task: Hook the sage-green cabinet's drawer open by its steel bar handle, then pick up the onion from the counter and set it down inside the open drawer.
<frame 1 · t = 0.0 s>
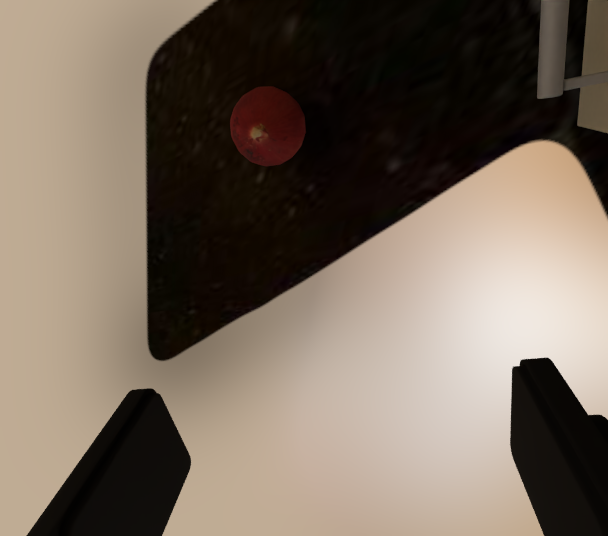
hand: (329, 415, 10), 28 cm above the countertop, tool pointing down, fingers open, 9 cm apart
onion: (277, 121, 34), on the countertop
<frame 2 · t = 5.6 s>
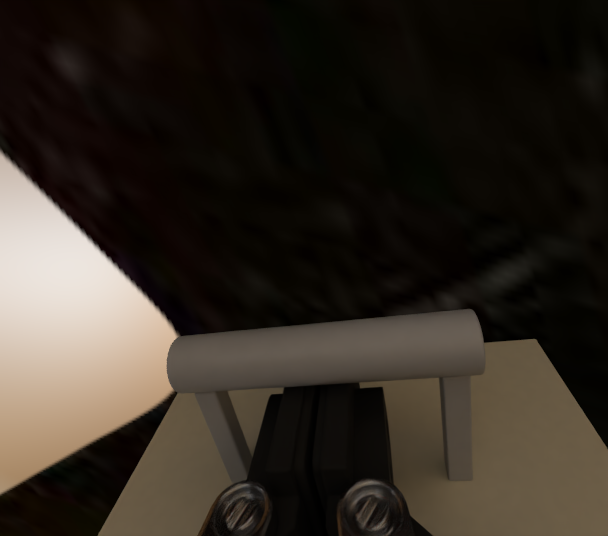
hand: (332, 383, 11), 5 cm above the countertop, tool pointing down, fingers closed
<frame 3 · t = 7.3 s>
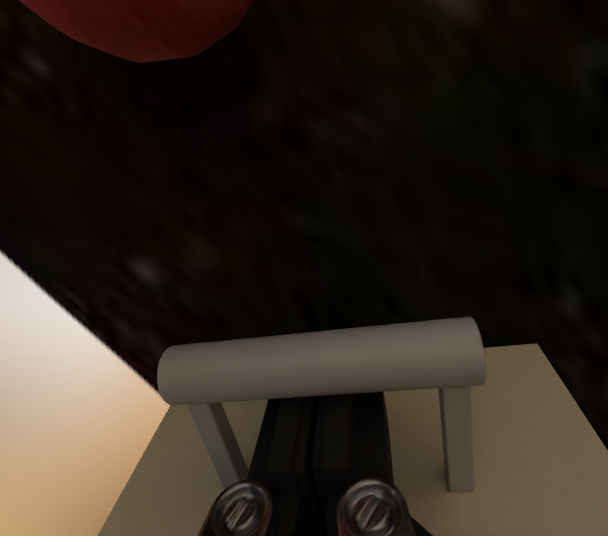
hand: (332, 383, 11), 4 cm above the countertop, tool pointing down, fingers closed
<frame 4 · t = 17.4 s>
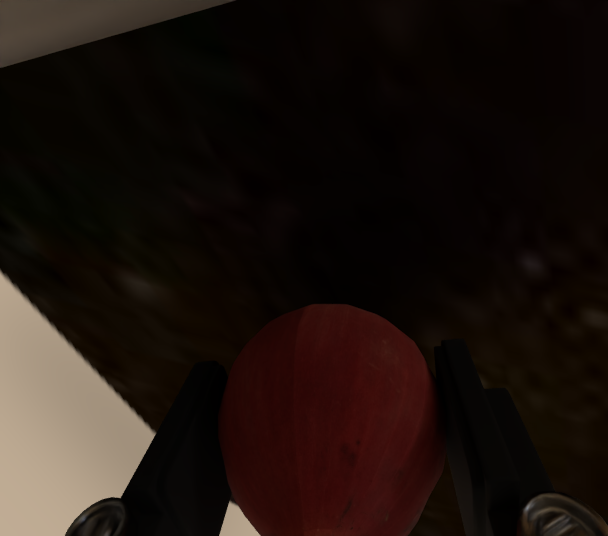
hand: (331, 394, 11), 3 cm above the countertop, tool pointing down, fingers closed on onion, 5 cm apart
onion: (337, 329, 14), on the countertop, touching gripper
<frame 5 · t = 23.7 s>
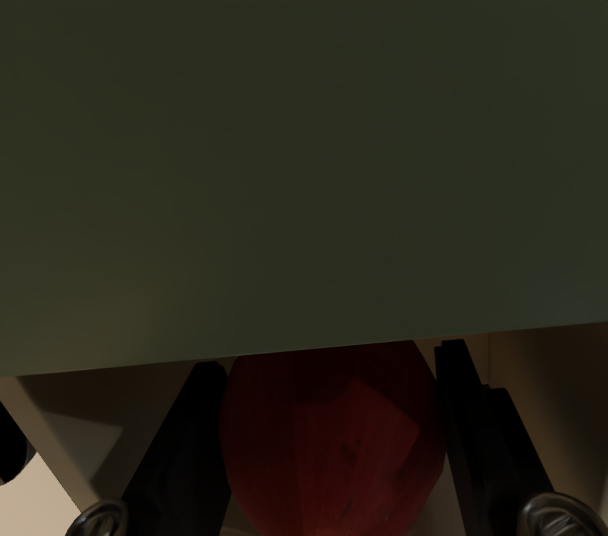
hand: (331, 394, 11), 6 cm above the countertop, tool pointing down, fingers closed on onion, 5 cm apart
drawer: (340, 411, 12), point 5 cm above the countertop, slide at 10.1 cm, touching gripper
onion: (337, 328, 14), point 3 cm above the countertop, touching gripper
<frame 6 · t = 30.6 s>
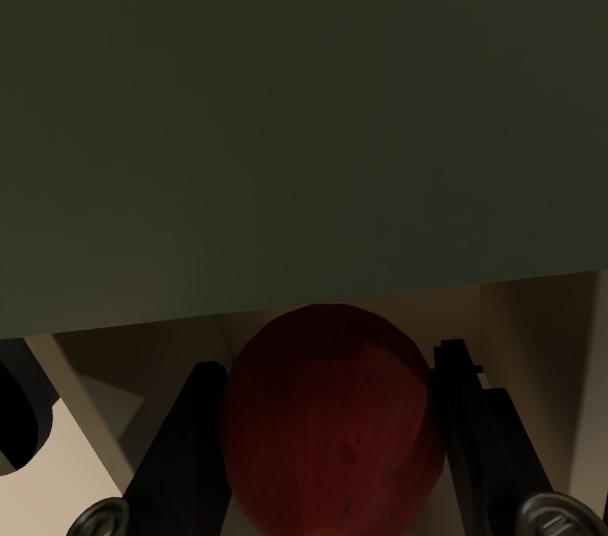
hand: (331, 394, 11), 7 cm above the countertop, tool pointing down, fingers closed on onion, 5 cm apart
drawer: (342, 386, 13), point 5 cm above the countertop, slide at 10.1 cm
onion: (337, 328, 14), point 4 cm above the countertop, touching gripper
when the fingers open (8 cm above the countertop, at t = 37.3 s): onion drops 3 cm, resting on drawer.
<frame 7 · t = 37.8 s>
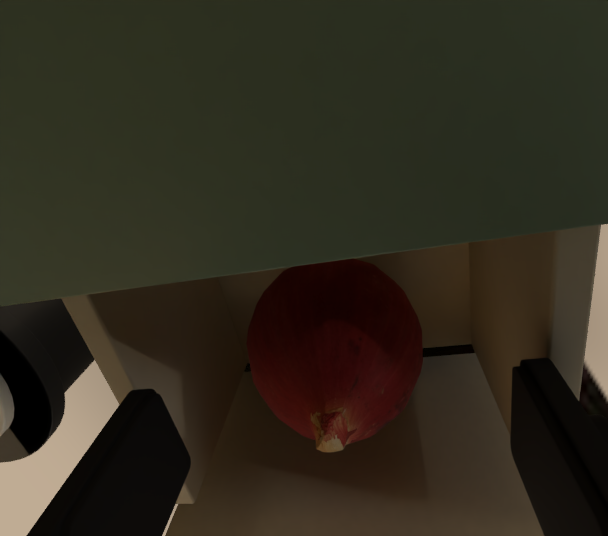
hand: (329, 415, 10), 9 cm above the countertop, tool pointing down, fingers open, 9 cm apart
drawer: (343, 360, 14), point 5 cm above the countertop, slide at 10.1 cm, touching onion
onion: (331, 286, 17), point 2 cm above the countertop, touching drawer
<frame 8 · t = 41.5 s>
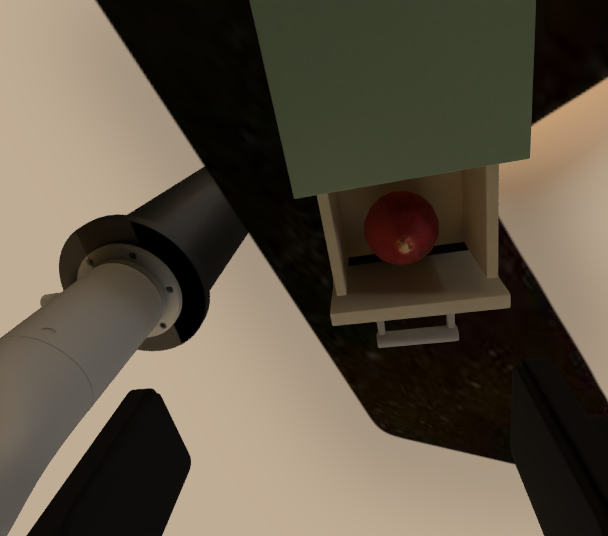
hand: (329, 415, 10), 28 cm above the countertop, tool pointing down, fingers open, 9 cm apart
cabinet: (381, 50, 31), on the countertop
drawer: (405, 240, 32), point 5 cm above the countertop, slide at 10.1 cm, touching onion
onion: (396, 212, 35), point 2 cm above the countertop, touching drawer
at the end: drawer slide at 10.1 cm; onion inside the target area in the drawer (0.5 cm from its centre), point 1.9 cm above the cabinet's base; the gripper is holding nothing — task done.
